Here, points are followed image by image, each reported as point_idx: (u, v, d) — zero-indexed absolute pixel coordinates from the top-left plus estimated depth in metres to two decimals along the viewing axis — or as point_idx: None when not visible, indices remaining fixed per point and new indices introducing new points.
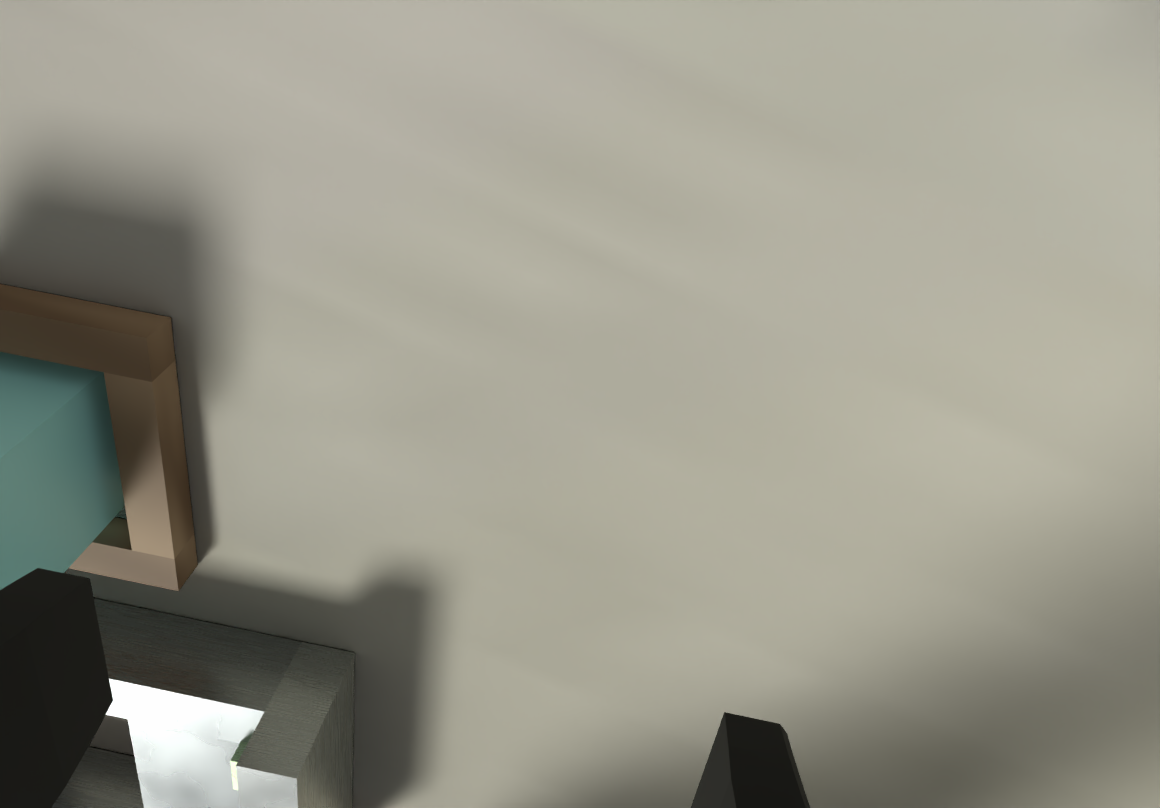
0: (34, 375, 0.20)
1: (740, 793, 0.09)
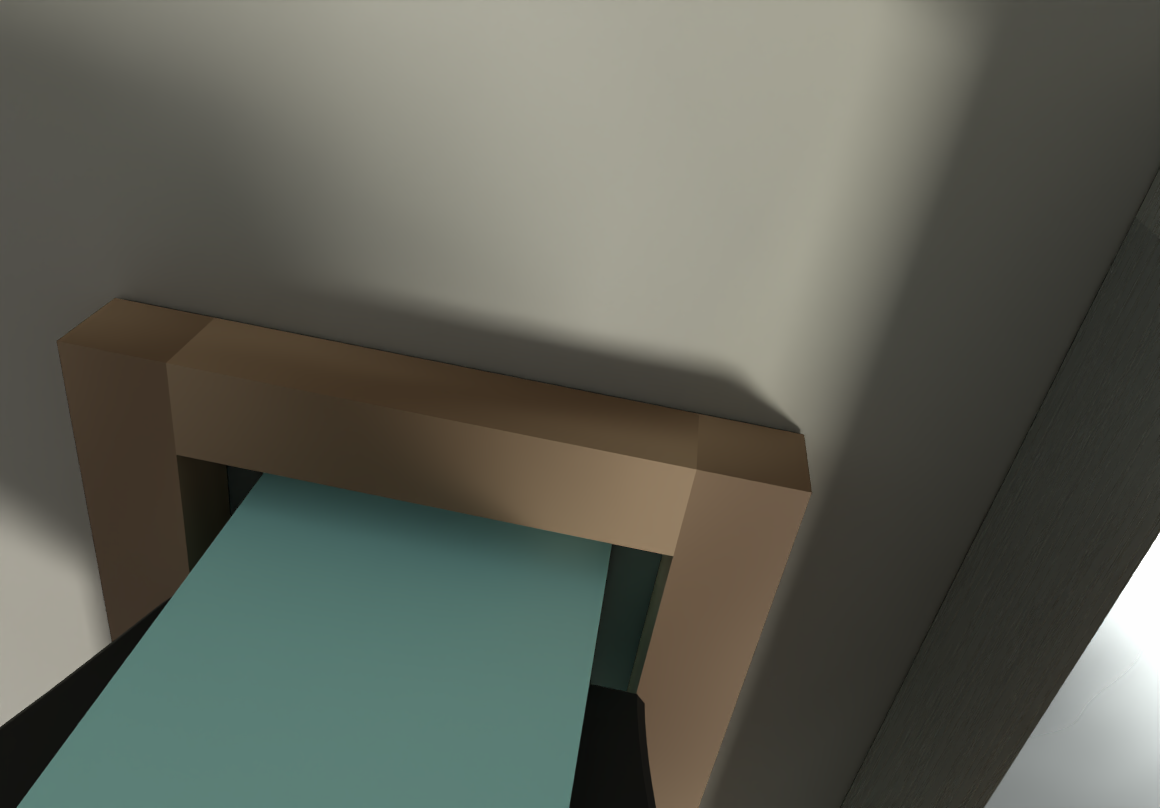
0: None
1: (579, 759, 0.09)
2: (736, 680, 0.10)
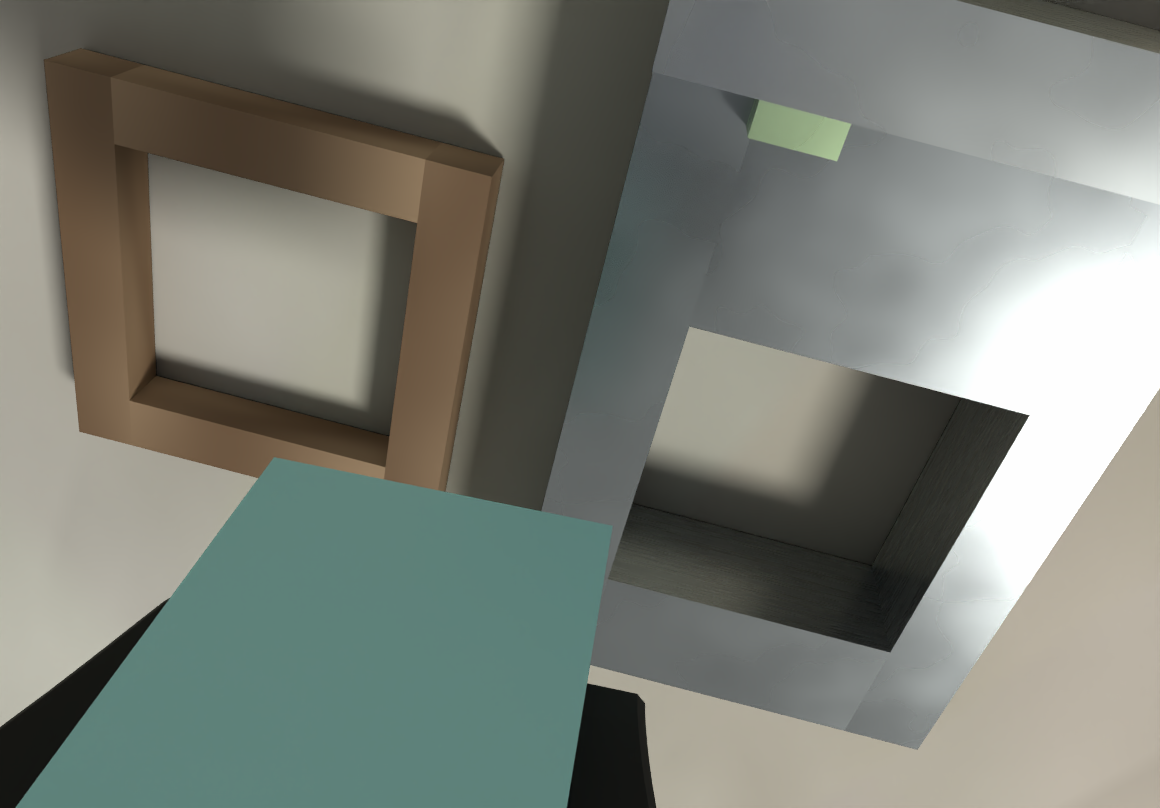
0: None
1: (579, 759, 0.09)
2: (463, 320, 0.16)
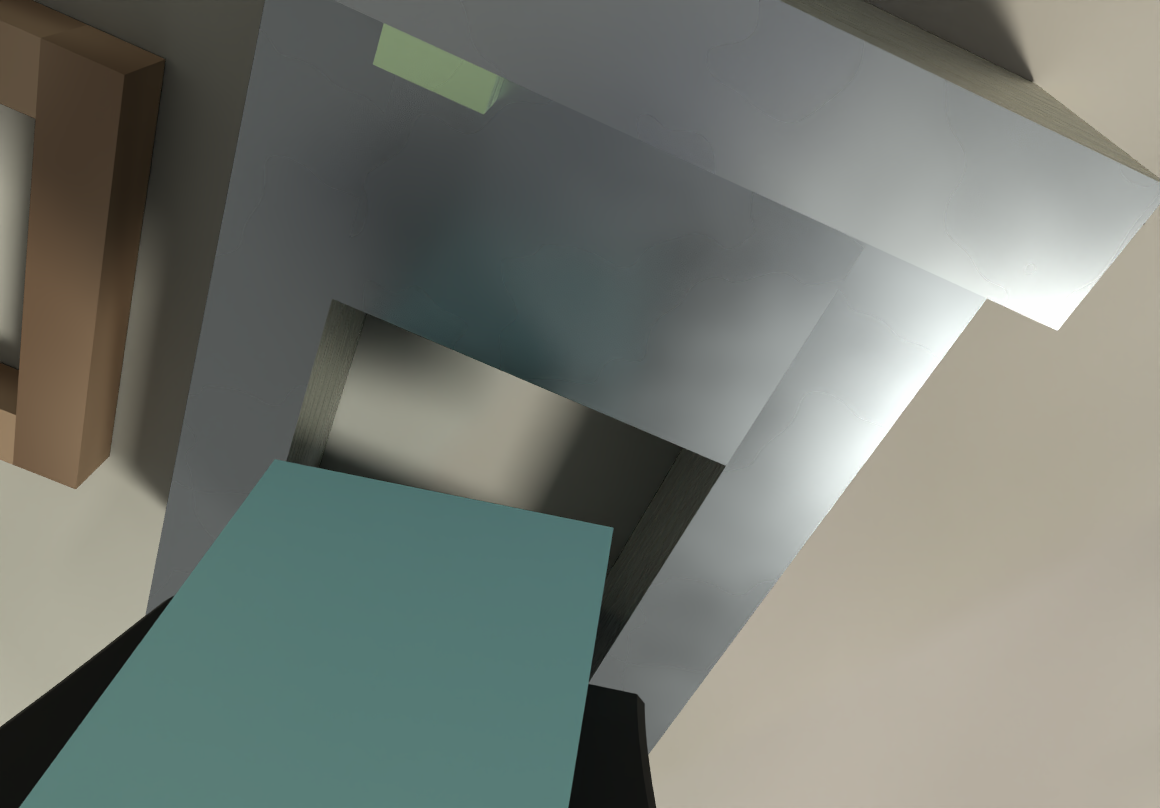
0: None
1: (579, 759, 0.09)
2: (99, 250, 0.13)
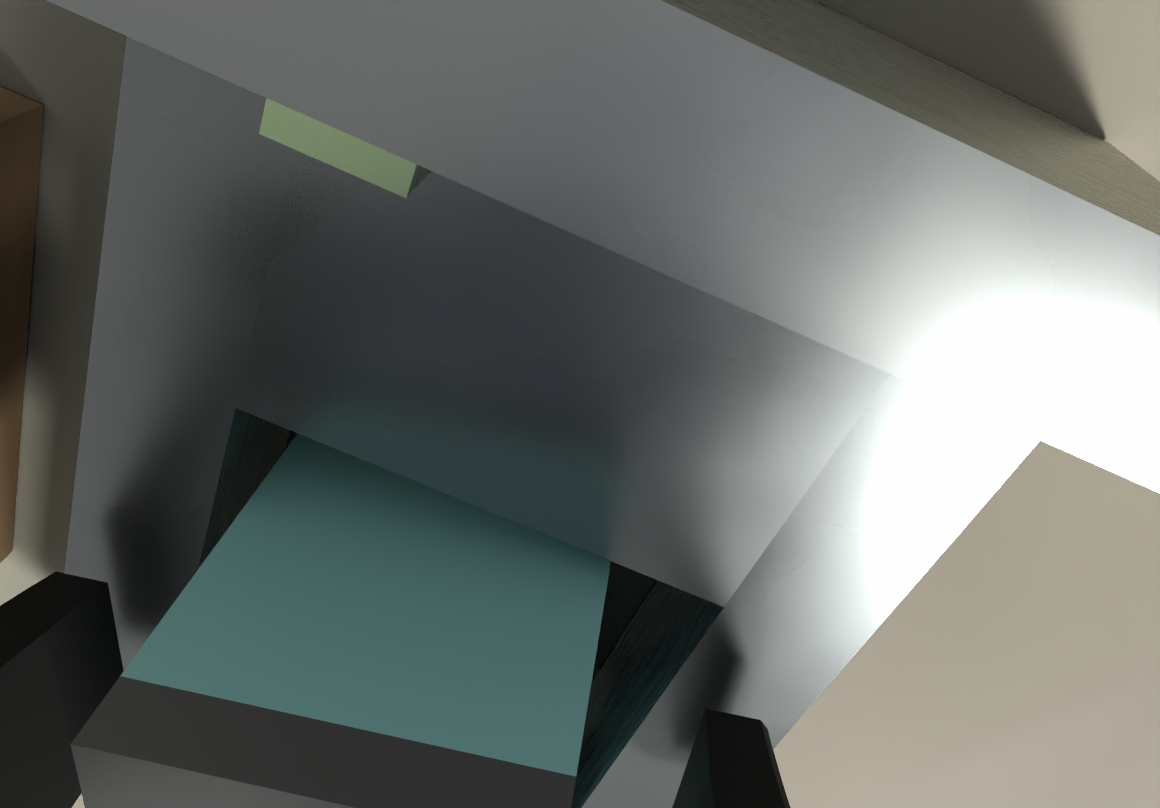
0: None
1: (718, 788, 0.09)
2: None
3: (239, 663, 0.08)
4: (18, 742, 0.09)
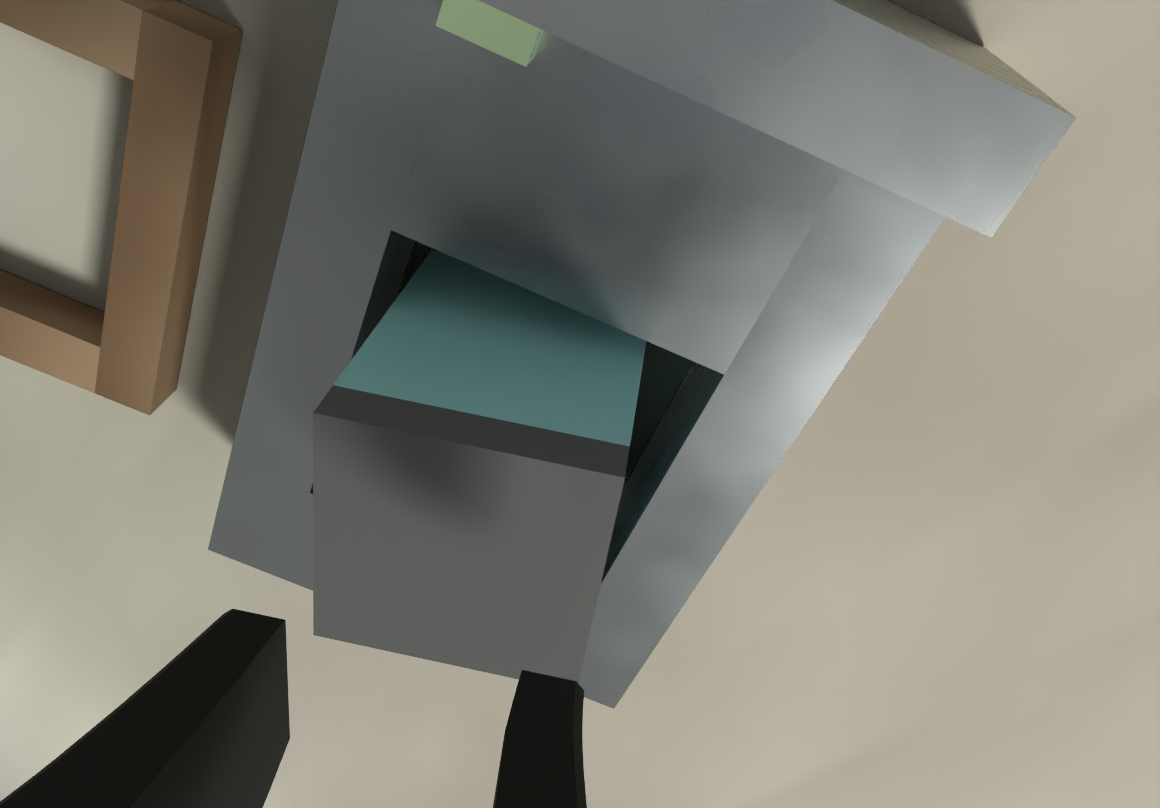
0: None
1: (511, 744, 0.09)
2: (182, 196, 0.15)
3: (406, 383, 0.12)
4: (214, 785, 0.09)
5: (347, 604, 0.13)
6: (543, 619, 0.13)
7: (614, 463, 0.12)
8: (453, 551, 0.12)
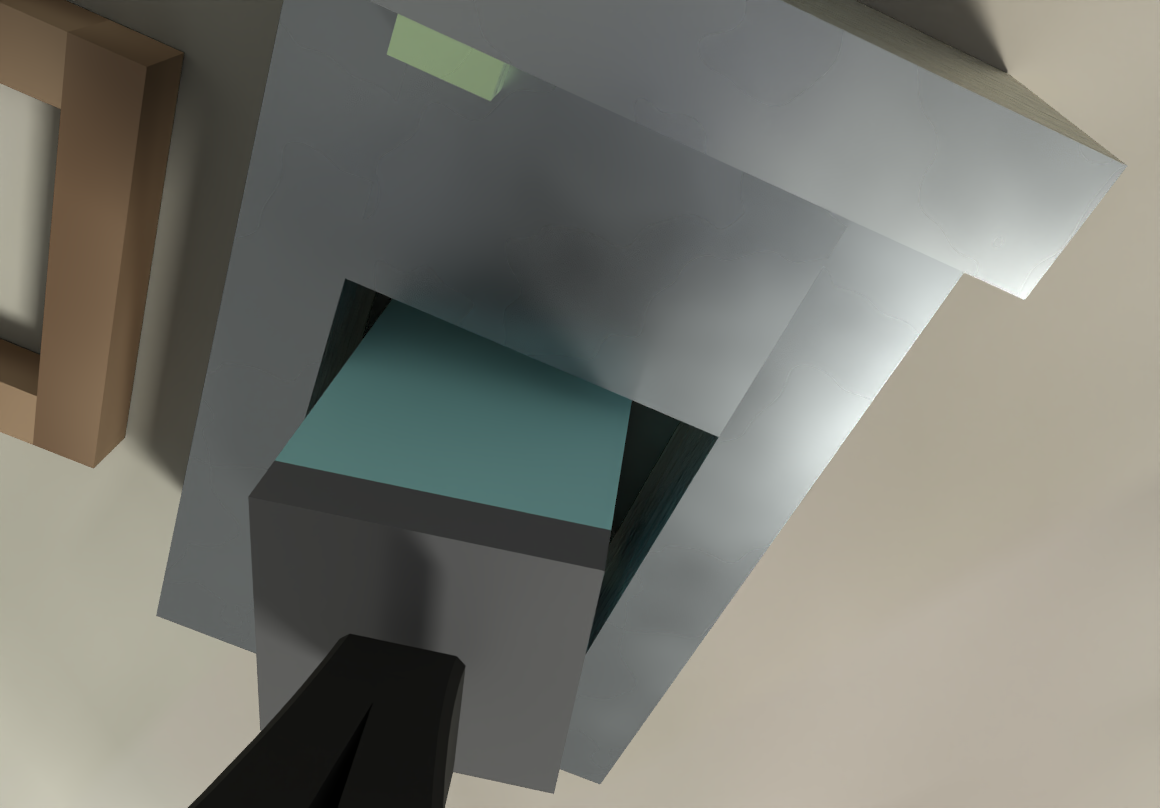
0: None
1: (376, 715, 0.09)
2: (120, 235, 0.14)
3: (358, 457, 0.11)
4: None
5: None
6: (515, 719, 0.11)
7: (592, 551, 0.10)
8: (412, 646, 0.11)
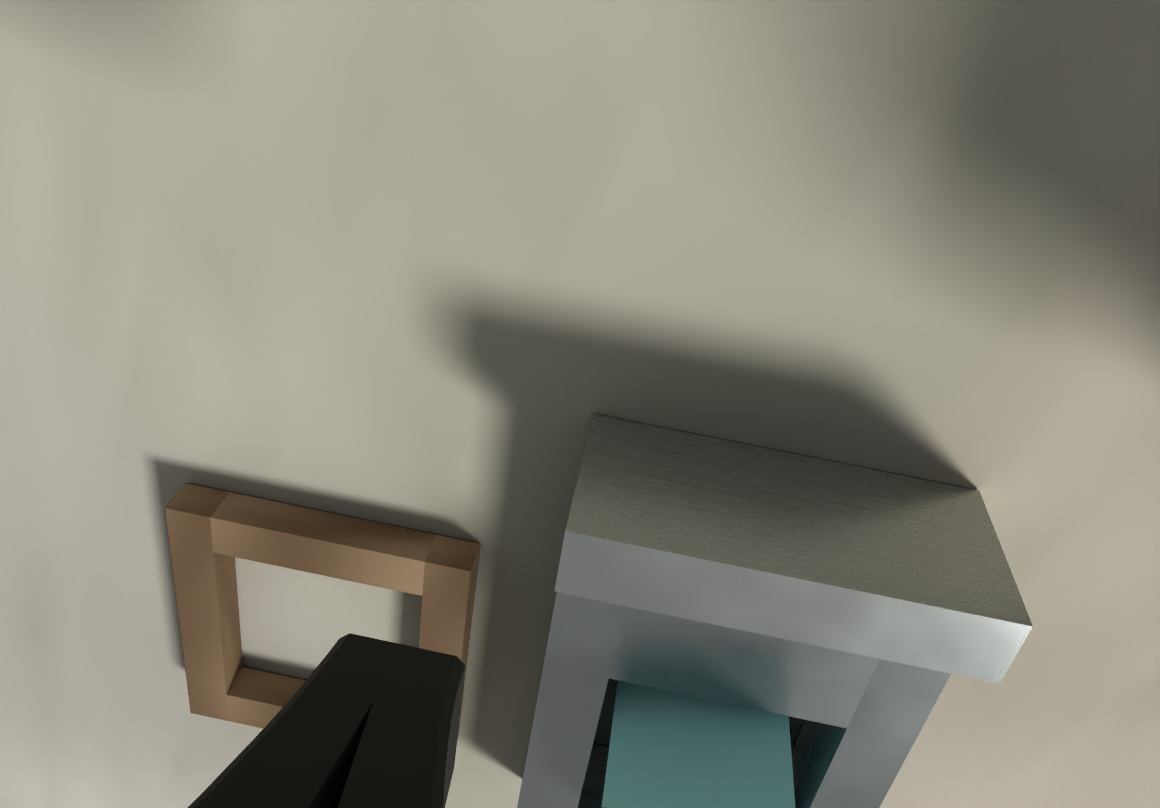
0: None
1: (376, 715, 0.09)
2: (459, 649, 0.23)
3: (644, 793, 0.19)
4: None
5: None
6: None
7: None
8: None
